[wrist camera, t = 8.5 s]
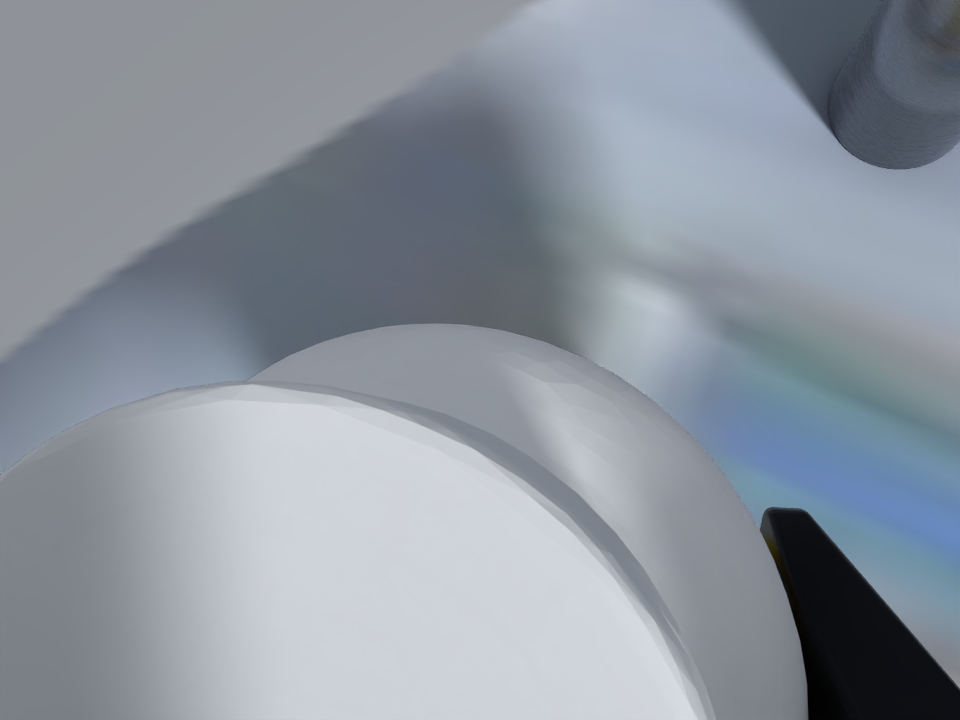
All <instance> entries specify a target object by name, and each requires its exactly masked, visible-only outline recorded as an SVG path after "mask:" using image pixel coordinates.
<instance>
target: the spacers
mask: <svg viewBox="0 0 960 720" xmlns="http://www.w3.org/2000/svg"><path fill="white" fill-rule="evenodd" d="M828 115H829V120H830V124H831V127H832V129H833V131H834V133H835V135H836V137H837V138H838V140H839V141H840V143H841V144H842V145H843V146H844V147H845V148H846V149H847V150H848V151H849V152H850V153H852V154H853V155H854V156H856V157H857V158H859V159H861V160H862V161H865V162H867V163H869V164H872V165H875V166H878V167H882V168H887V169H910V168H916V167H920V166H923V165H926V164H929V163H931V162H934V161H935V160H937V159H939V158H941V157H942V156H944V155H945V154H946V153H948V152H949V151H950V150H951V149H952V148H953V147H954V146H955V145H957V144H958V143H959V142H960V0H882V1H881V3H880V5H879V6H878V8H877V10H876V11H875V13H874V15H873V16H872V18H871V20H870V21H869V23H868V25H867V27H866V28H865V30H864V32H863V33H862V35H861V37H860V38H859V40H858V42H857V44H856V45H855V47H854V49H853V50H852V52H851V54H850V55H849V57H848V59H847V60H846V62H845V64H844V66H843V67H842V69H841V71H840V72H839V74H838V76H837V77H836V79H835V81H834V83H833V85H832V88H831V90H830V94H829V99H828Z"/></svg>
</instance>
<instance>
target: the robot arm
mask: <svg viewBox="0 0 960 720" xmlns="http://www.w3.org/2000/svg"><path fill="white" fill-rule="evenodd" d="M760 532H761V534H762V536H763V538H764V540H765V542H766V544H767V547H768V549H769V551H770V553H771V555H772V557H773V559H774V562H775V564H776V567H777V570H778V573H779V575H780V578H781V581H782V583H783V586H784V589H785V591H786V594H787V597H788V601H789V604H790V608H791V611H792V614H793V618H794V621H795V625H796V628H797V632H798V635H799V639H800V643H801V649H802V655H803V661H804V667H805V673H806V680H807V695H808V720H960V688H959V687H958V686H957V685H956V684H955V682H954V681H953V680H952V679H951V678H950V677H949V675H948V674H947V673H946V672H945V671H944V670H943V669H942V667H941V666H940V665H939V664H938V663H937V662H936V660H935V659H934V658H933V657H932V656H931V655H930V653H929V652H928V651H927V650H926V649H925V648H924V646H923V645H922V644H921V643H920V642H919V641H918V640H917V638H916V637H915V636H914V635H913V634H912V633H911V631H910V630H909V629H908V628H907V627H906V626H905V624H904V623H903V622H902V621H901V620H900V619H899V617H898V616H897V615H896V614H895V613H894V612H893V611H892V609H891V608H890V607H889V606H888V605H887V604H886V602H885V601H884V600H883V599H882V598H881V597H880V595H879V594H878V593H877V592H876V591H875V590H874V588H873V587H872V586H871V585H870V584H869V583H868V582H867V580H866V579H865V578H864V577H863V576H862V575H861V573H860V572H859V571H858V570H857V569H856V568H855V566H854V565H853V564H852V563H851V562H850V561H849V559H848V558H847V557H846V556H845V555H844V554H843V553H842V551H841V550H840V549H839V548H838V547H837V546H836V544H835V543H834V542H833V541H832V540H831V539H830V537H829V536H828V535H827V534H826V533H825V532H824V530H823V529H822V528H821V527H820V526H819V525H818V524H817V522H816V521H815V520H814V519H813V518H812V517H811V515H810V514H809V513H808V512H806V511H805V510H803V509H798V508H779V507H771V508H768V509H766V510H765V512H764V514H763V517H762V522H761V527H760Z"/></svg>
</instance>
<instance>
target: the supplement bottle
mask: <svg viewBox="0 0 960 720" xmlns="http://www.w3.org/2000/svg"><path fill="white" fill-rule="evenodd" d="M0 720H808V695H807V680H806V673H805V667H804V661H803V655H802V649H801V643H800V639H799V635H798V632H797V628H796V625H795V621H794V618H793V614H792V611H791V608H790V604H789V601H788V597H787V594H786V591H785V589H784V586H783V583H782V581H781V578H780V575H779V573H778V570H777V567H776V564H775V562H774V559H773V557H772V555H771V553H770V551H769V549H768V547H767V544H766V542H765V540H764V538H763V536H762V534H761V532H760V530H759V528H758V527H757V525H756V523H755V521H754V520H753V518H752V516H751V515H750V513H749V511H748V510H747V508H746V506H745V504H744V503H743V501H742V500H741V498H740V497H739V495H738V494H737V492H736V491H735V489H734V487H733V486H732V484H731V483H730V481H729V480H728V478H727V477H726V475H725V474H724V473H723V471H722V470H721V469H720V468H719V467H718V465H717V464H716V463H715V462H714V461H713V459H712V458H711V457H710V456H709V455H708V453H707V452H706V451H705V450H704V449H703V448H702V447H701V446H700V444H699V443H698V442H697V441H696V440H695V439H694V438H693V437H692V435H691V434H690V433H689V432H687V431H686V430H685V429H684V428H683V427H682V426H681V425H680V424H679V423H678V422H677V421H675V420H674V419H673V418H672V417H671V416H670V415H669V414H668V413H667V412H666V411H664V410H663V409H662V408H661V407H660V406H659V405H658V404H657V403H656V402H654V401H653V400H651V399H650V398H649V397H647V396H646V395H645V394H643V393H642V392H641V391H639V390H638V389H636V388H635V387H634V386H632V385H631V384H629V383H628V382H626V381H624V380H623V379H621V378H620V377H618V376H617V375H615V374H614V373H612V372H610V371H608V370H606V369H604V368H602V367H601V366H599V365H597V364H595V363H593V362H591V361H589V360H587V359H585V358H583V357H581V356H579V355H576V354H574V353H571V352H569V351H566V350H564V349H561V348H559V347H556V346H554V345H551V344H549V343H547V342H544V341H541V340H537V339H533V338H530V337H526V336H523V335H519V334H515V333H512V332H508V331H504V330H499V329H492V328H486V327H479V326H472V325H463V324H444V323H431V324H405V325H393V326H386V327H380V328H375V329H370V330H365V331H360V332H355V333H351V334H348V335H344V336H340V337H337V338H333V339H330V340H326V341H323V342H320V343H318V344H316V345H313V346H311V347H308V348H306V349H303V350H301V351H298V352H296V353H294V354H291V355H289V356H287V357H286V358H284V359H282V360H280V361H278V362H276V363H274V364H273V365H271V366H269V367H268V368H266V369H264V370H263V371H261V372H259V373H258V374H256V375H254V376H253V377H251V378H249V379H248V380H246V381H243V382H223V383H215V384H208V385H201V386H193V387H186V388H179V389H175V390H171V391H168V392H165V393H161V394H158V395H154V396H151V397H148V398H144V399H141V400H138V401H134V402H131V403H127V404H124V405H121V406H117V407H114V408H111V409H109V410H107V411H105V412H102V413H100V414H98V415H96V416H94V417H92V418H90V419H87V420H85V421H83V422H81V423H79V424H77V425H75V426H73V427H70V428H68V429H66V430H65V431H63V432H61V433H60V434H58V435H56V436H55V437H53V438H51V439H50V440H48V441H46V442H45V443H43V444H41V445H40V446H38V447H36V448H35V449H33V450H32V451H30V452H29V453H28V454H27V455H25V456H24V457H23V458H21V459H20V460H19V461H17V462H16V463H15V464H14V465H12V466H11V467H10V468H8V469H7V470H6V471H4V472H3V473H2V474H1V475H0Z"/></svg>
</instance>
